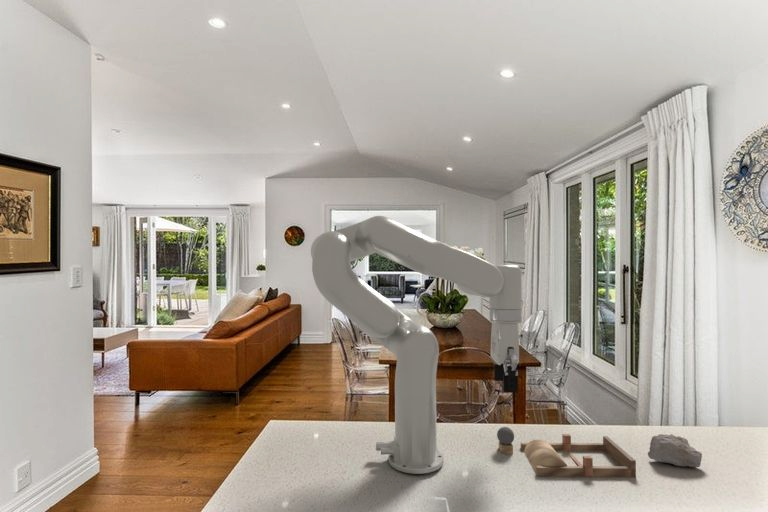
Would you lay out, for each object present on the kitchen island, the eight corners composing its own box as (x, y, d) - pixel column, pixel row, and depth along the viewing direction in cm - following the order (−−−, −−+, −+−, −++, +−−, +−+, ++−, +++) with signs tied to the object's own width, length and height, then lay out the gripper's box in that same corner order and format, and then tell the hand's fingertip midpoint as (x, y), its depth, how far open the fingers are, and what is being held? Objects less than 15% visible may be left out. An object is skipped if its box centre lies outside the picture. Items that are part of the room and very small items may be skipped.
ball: (499, 447, 106) (499, 430, 106) (495, 440, 110) (495, 424, 110) (516, 447, 106) (516, 430, 106) (511, 440, 110) (511, 424, 110)
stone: (708, 470, 98) (709, 443, 98) (666, 471, 97) (667, 443, 97) (680, 455, 106) (680, 430, 106) (641, 455, 105) (642, 430, 105)
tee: (501, 455, 106) (501, 445, 106) (498, 450, 109) (498, 440, 109) (513, 455, 106) (512, 445, 106) (510, 450, 109) (510, 440, 109)
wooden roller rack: (537, 499, 96) (537, 457, 96) (520, 470, 109) (520, 433, 109) (636, 500, 95) (636, 458, 95) (607, 470, 108) (606, 434, 108)
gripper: (483, 311, 116) (483, 376, 116) (497, 320, 99) (497, 397, 99) (511, 311, 116) (511, 376, 116) (531, 320, 99) (531, 397, 99)
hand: (505, 386), depth 108 cm, fingers open, 9 cm apart
